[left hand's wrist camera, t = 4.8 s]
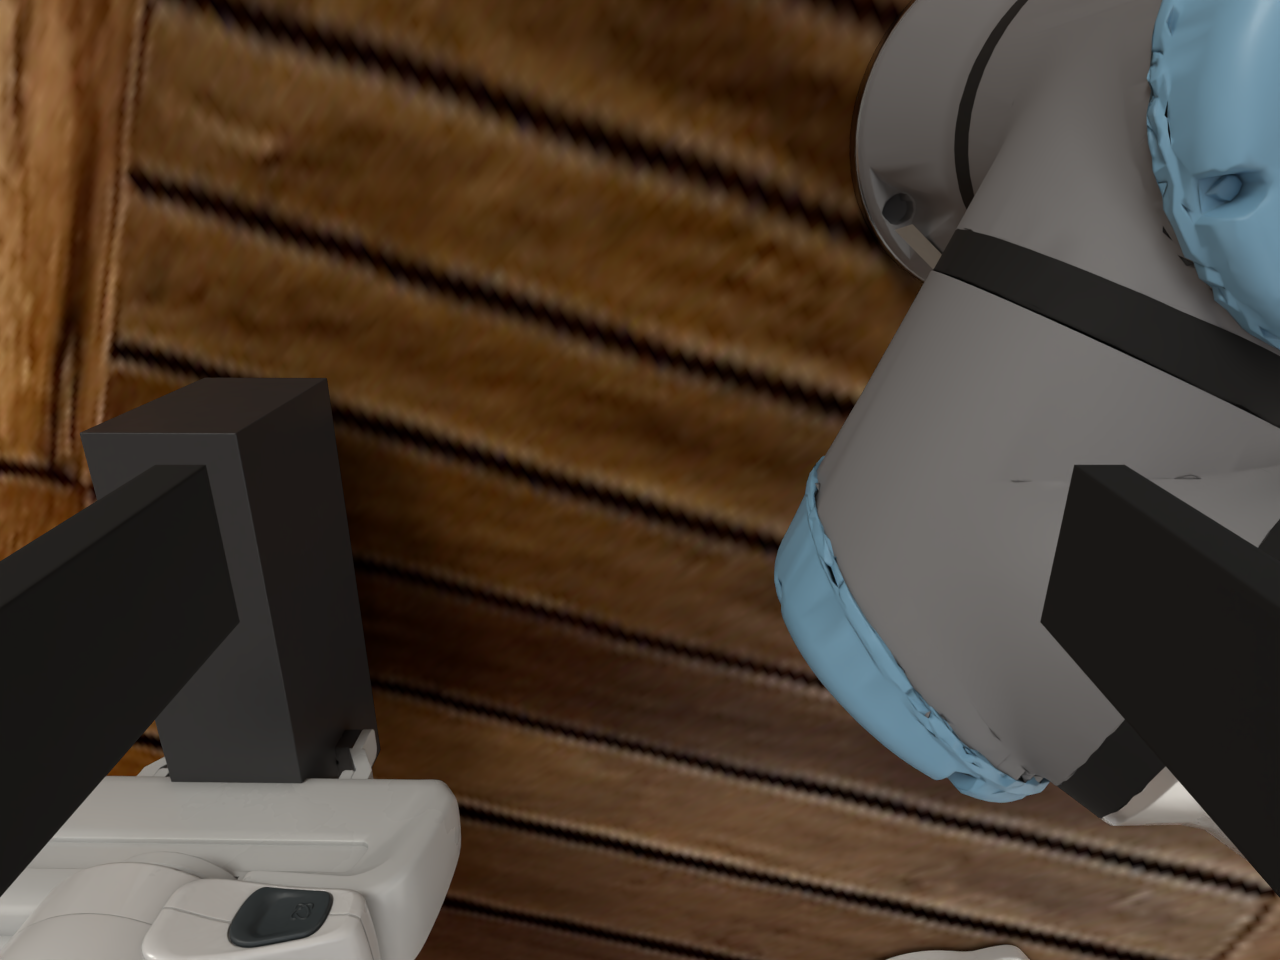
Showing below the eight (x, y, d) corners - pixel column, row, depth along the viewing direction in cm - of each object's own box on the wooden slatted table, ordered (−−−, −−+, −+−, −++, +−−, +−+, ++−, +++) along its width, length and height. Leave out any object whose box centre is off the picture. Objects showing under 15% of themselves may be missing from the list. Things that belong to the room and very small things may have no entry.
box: (204, 377, 39) (78, 432, 30) (327, 377, 39) (235, 433, 30) (278, 748, 47) (195, 874, 38) (380, 749, 47) (319, 876, 38)
